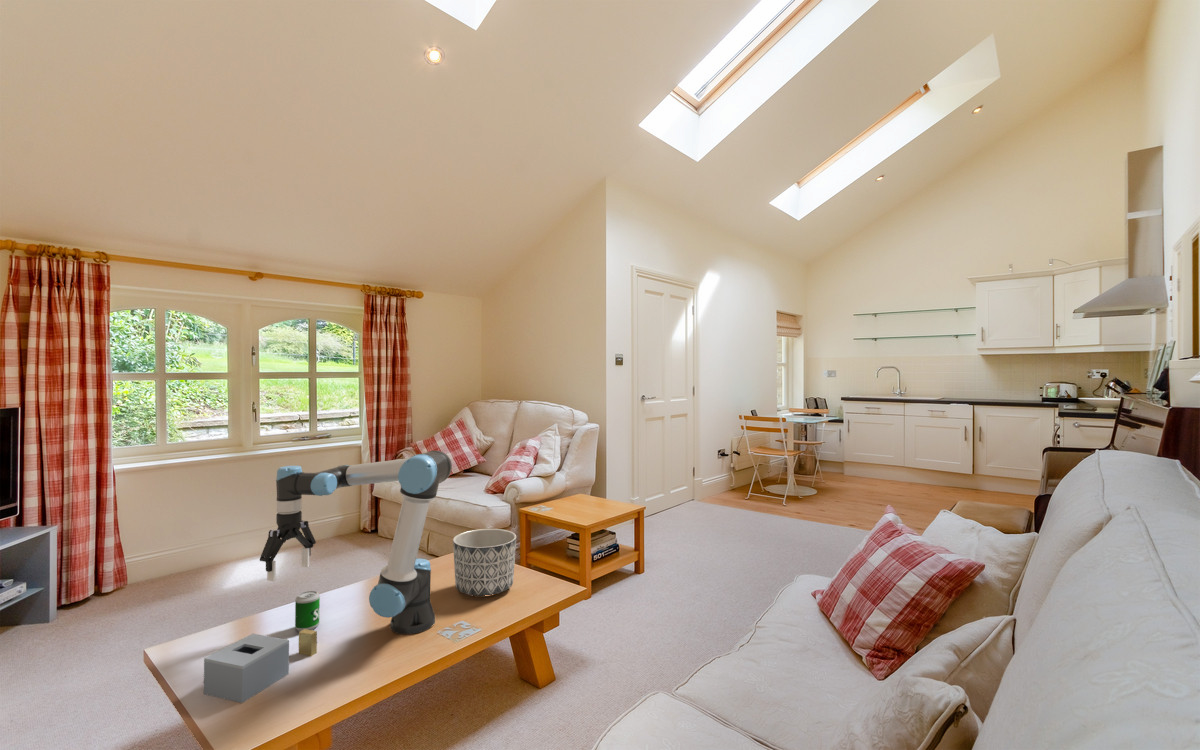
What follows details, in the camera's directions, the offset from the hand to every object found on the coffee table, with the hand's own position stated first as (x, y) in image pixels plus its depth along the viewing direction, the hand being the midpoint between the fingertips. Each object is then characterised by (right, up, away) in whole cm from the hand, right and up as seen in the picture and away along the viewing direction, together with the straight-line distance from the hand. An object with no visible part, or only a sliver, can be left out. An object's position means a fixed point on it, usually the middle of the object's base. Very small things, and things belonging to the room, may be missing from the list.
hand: (289, 573), depth 182 cm
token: (+13, -21, -12) cm, 28 cm away
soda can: (+3, -22, +5) cm, 22 cm away
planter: (+59, -22, +40) cm, 74 cm away
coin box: (+5, -21, -29) cm, 36 cm away
